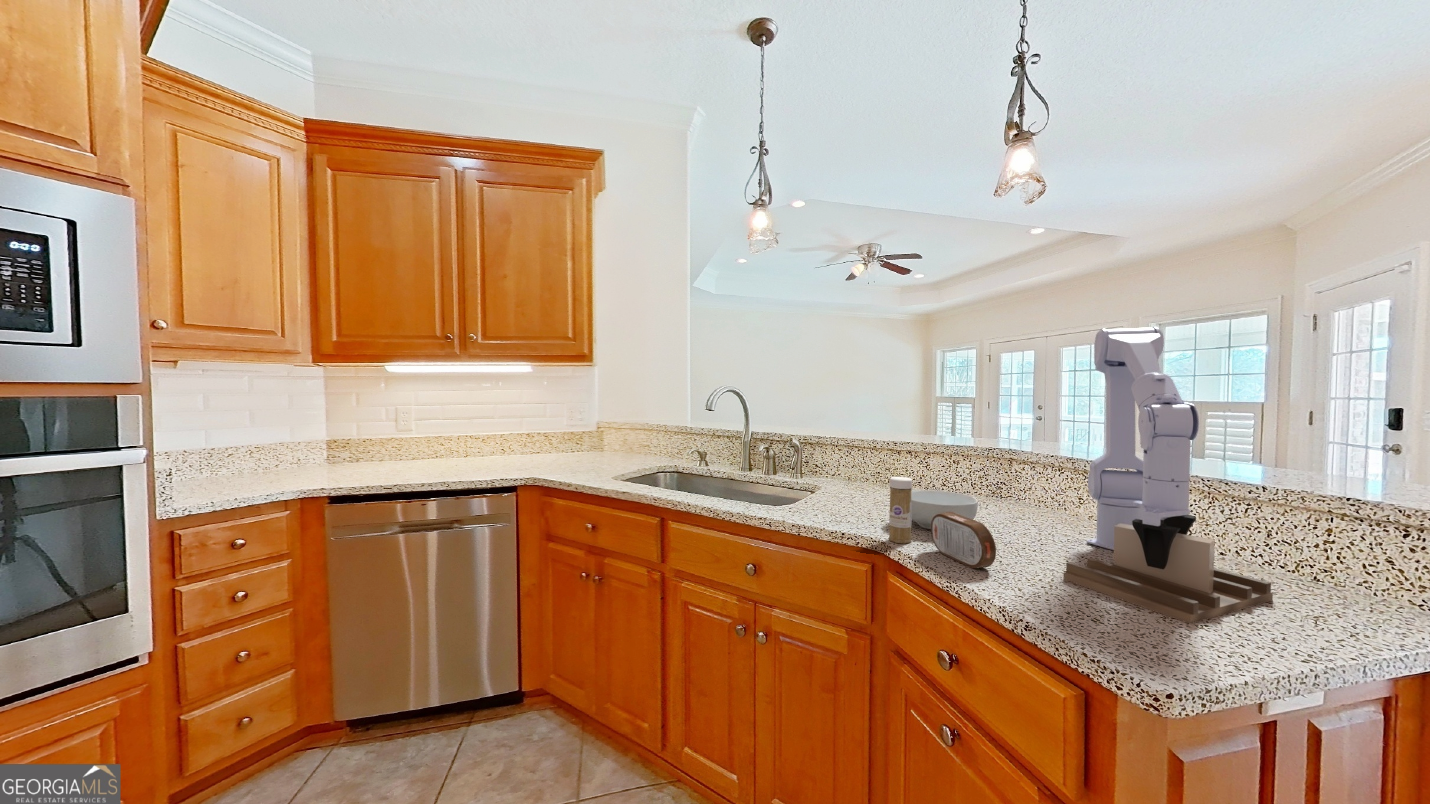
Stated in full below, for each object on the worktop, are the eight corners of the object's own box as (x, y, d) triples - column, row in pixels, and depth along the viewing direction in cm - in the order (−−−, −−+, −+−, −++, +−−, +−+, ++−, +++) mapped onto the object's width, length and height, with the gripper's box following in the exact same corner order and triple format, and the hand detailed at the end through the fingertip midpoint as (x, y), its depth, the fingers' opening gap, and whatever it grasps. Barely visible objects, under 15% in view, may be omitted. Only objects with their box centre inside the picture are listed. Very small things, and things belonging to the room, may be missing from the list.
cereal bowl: (994, 534, 117) (994, 502, 117) (924, 538, 115) (924, 506, 114) (948, 515, 134) (949, 487, 134) (886, 518, 131) (887, 490, 131)
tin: (997, 573, 94) (998, 526, 93) (982, 575, 93) (982, 527, 92) (941, 548, 108) (941, 506, 108) (927, 549, 107) (928, 507, 107)
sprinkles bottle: (888, 542, 111) (888, 479, 111) (889, 536, 116) (890, 475, 115) (911, 545, 110) (912, 480, 109) (912, 539, 114) (912, 476, 113)
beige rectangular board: (1119, 569, 92) (1120, 523, 92) (1213, 590, 82) (1214, 539, 82) (1113, 572, 90) (1114, 526, 90) (1208, 595, 80) (1209, 543, 80)
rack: (1141, 563, 98) (1142, 548, 98) (1272, 600, 82) (1273, 582, 81) (1063, 579, 91) (1063, 563, 90) (1190, 623, 74) (1190, 603, 74)
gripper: (1148, 470, 93) (1146, 547, 93) (1119, 480, 84) (1117, 564, 85) (1202, 476, 87) (1200, 558, 88) (1177, 487, 79) (1174, 577, 79)
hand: (1163, 562), depth 86 cm, fingers open, 7 cm apart
